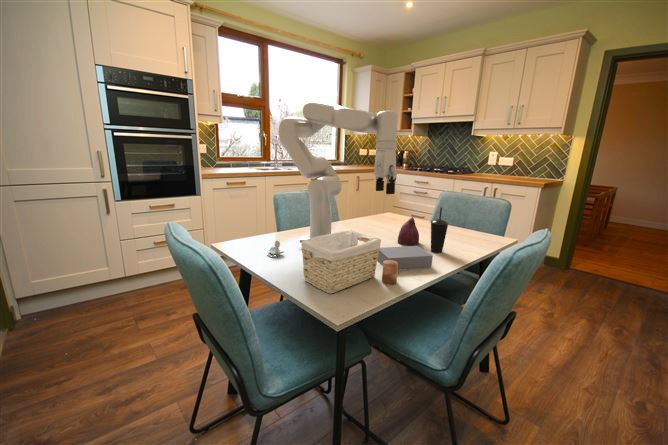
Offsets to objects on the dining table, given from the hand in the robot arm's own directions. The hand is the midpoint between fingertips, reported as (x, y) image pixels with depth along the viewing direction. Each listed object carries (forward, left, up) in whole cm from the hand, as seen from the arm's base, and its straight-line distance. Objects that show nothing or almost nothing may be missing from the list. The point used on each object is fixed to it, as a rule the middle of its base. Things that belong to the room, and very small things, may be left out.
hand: (384, 192), depth 118 cm
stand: (+8, -4, -28) cm, 29 cm away
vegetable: (+22, +21, -28) cm, 41 cm away
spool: (-4, -19, -28) cm, 34 cm away
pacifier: (-42, +13, -28) cm, 52 cm away
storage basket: (-20, -15, -28) cm, 38 cm away
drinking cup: (+29, +7, -28) cm, 41 cm away
